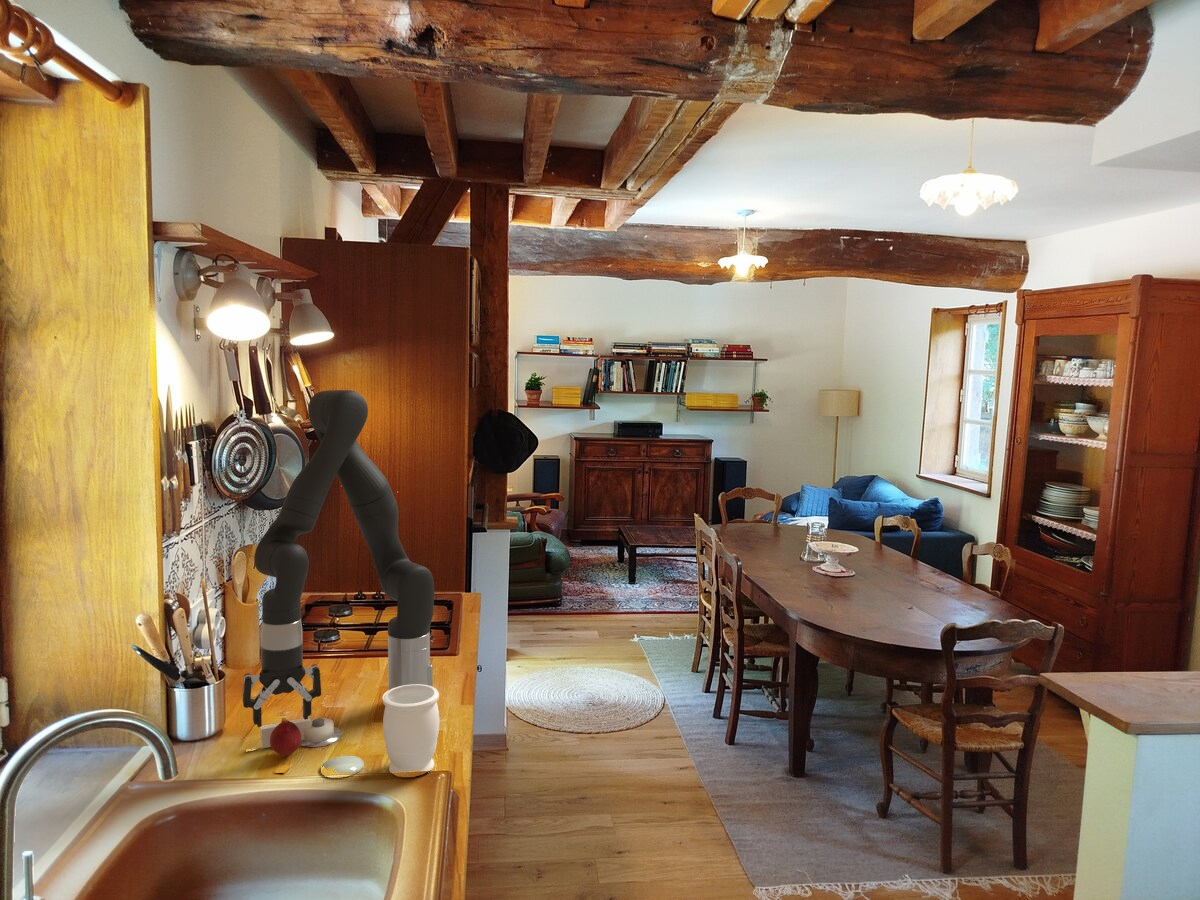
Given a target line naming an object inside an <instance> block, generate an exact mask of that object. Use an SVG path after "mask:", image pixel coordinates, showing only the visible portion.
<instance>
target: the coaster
mask: <svg viewBox="0 0 1200 900" xmlns="http://www.w3.org/2000/svg"><path fill="white" fill-rule="evenodd" d="M364 765H365V764H364V760H363V759H362V758H360V757H359V756H356V755H341V756H336V757H333V758H329V759H328V760H326V761H325V762H323V763H322V765H321V766H322V767H323V766H324V767H325V768H326V769H327V768H328V767H329V768H330V767H331V768H332V767H333V768H335V769H334V771H335V770H336V771H337V773H338V772H339V773H356V772H359V771H360V770H361V769H362V768H363V769H364ZM329 768H328V769H329ZM331 768H330V769H331ZM328 769H327V770H328ZM363 769H362V770H363ZM362 770H361V771H362ZM332 771H333V770H332ZM334 771H333V772H334ZM361 771H360V772H361ZM360 772H359V773H360ZM335 773H336V772H335Z"/></svg>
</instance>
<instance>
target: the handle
mask: <svg viewBox="0 0 1200 900" xmlns="http://www.w3.org/2000/svg"><path fill="white" fill-rule="evenodd" d="M289 721H290V722H292V723H294V724H295V725H296V726H297V727H298V728H299V730H300V732H301V737H302V739H301V741H302V740H305V741H307V742H322V741H326V740H328V739H330V738H331V737H332V736H333V735H334V727H335V725H334V721H333V720H332V719H330V718H327V717H324V718H323V717H321V718H320V717H319V718H314V719H311V716H308V719H305V720H304V718H303V717H302V718H297V719H292V720H289ZM280 723H281V721H280V722H277V723H271V724H266V725H262V727H260V743H261V744H260V745H261V749H266V748H271V745H270V736H271V733H272V731H273V730H274V729H275V727H276V726H277V725H278V724H280Z"/></svg>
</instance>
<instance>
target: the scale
mask: <svg viewBox="0 0 1200 900" xmlns="http://www.w3.org/2000/svg"><path fill="white" fill-rule="evenodd" d="M341 737H342V731H341V729H340V728H338V727H335V726H334V735H333V736H332V737H331V738H330V739H328V740H326V741H322V742H307V741H305V740H302V741H301V743H300V745H299V746H300V747H303V748H308V747H310V748H309V749H312V748H311V747H313V748H314V747H315V748H322V747H325V746H329V745H332V744H334V743H337V741H338V740H340V739H341ZM251 748H252V749H257V747H251ZM315 748H314V749H315ZM246 749H247V748H246ZM246 749H244V751H245V750H246ZM252 749H251V750H252Z"/></svg>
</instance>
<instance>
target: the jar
mask: <svg viewBox="0 0 1200 900" xmlns="http://www.w3.org/2000/svg"><path fill="white" fill-rule="evenodd" d="M382 695H383V696H382V703H383V705H384V706H385V707H384V712H383V720H382V731H383V738H384V743H385V749H386V754H387V756H388V759H389V761H390V764H389V767H388V770H389V773H391V772H409V771H430V770H431V771H432V770H433V769H434V767H435V761H434V759H433V757H434V755H435V752H436V749H437V744H438V736H439V731H440V712H439V707H438V706H439V705H438V701H439V698H440V693H439V690H438V689H437V688H436V687H435V686H433V687H432V686H429V685H424V684H409V685H403V686H399V687H395V688H393V689H390V690H389V689H388V690H387V691H386V692H384V693H383V694H382ZM431 771H430V772H431Z"/></svg>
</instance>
